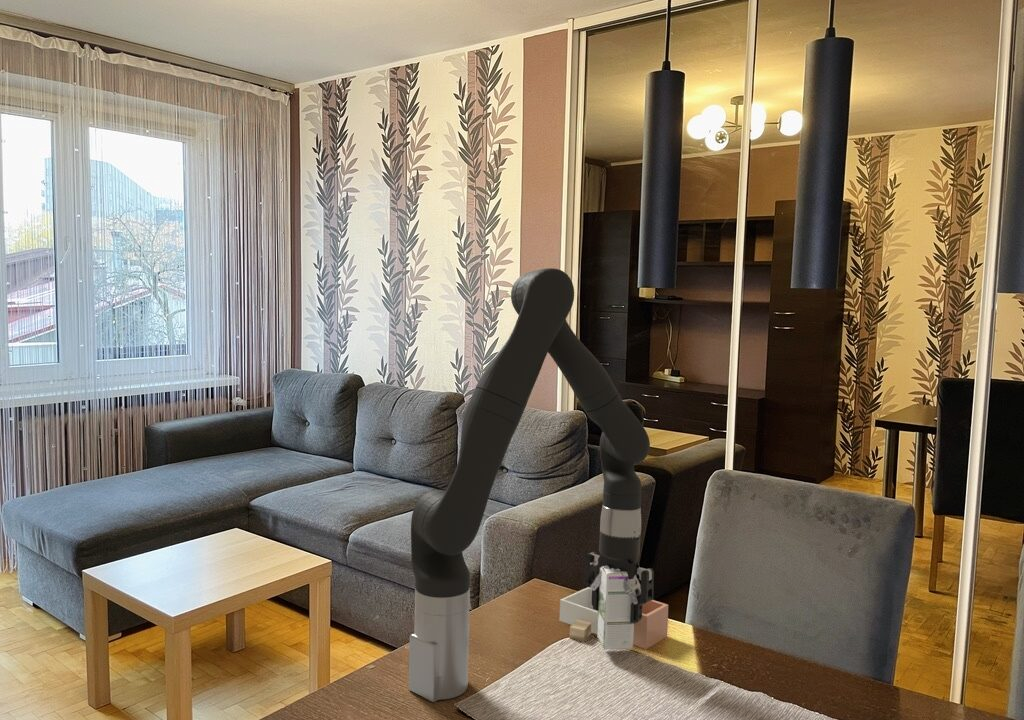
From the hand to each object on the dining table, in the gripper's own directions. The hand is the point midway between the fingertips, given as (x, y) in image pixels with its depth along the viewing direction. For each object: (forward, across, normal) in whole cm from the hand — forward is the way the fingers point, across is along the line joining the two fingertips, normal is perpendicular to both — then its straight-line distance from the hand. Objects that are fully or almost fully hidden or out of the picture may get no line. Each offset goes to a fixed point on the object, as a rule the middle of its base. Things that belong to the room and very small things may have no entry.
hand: (616, 615), depth 139 cm
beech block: (+8, -9, +2) cm, 12 cm away
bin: (+8, -12, +10) cm, 17 cm away
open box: (+8, 0, +10) cm, 12 cm away
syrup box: (+6, 0, 0) cm, 6 cm away
